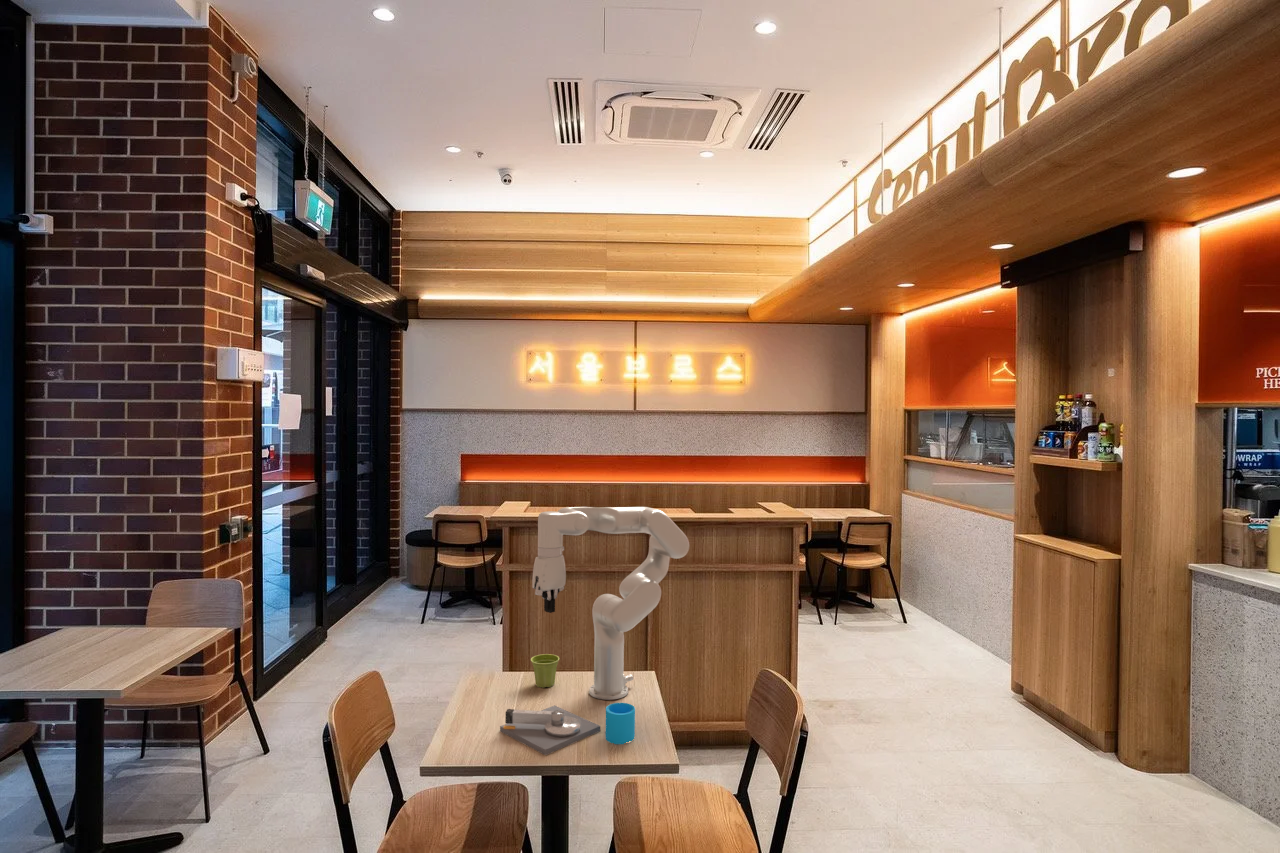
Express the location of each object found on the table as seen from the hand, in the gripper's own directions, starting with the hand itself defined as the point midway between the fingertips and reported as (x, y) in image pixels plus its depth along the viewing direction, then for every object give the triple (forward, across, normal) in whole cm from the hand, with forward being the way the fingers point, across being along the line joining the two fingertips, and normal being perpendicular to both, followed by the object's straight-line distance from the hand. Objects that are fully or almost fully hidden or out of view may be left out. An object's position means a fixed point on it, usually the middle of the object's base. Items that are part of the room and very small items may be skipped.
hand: (549, 611), depth 216 cm
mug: (+29, -2, +30) cm, 42 cm away
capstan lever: (+27, +14, +14) cm, 34 cm away
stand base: (+29, +11, +14) cm, 34 cm away
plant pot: (+29, -10, -14) cm, 34 cm away
